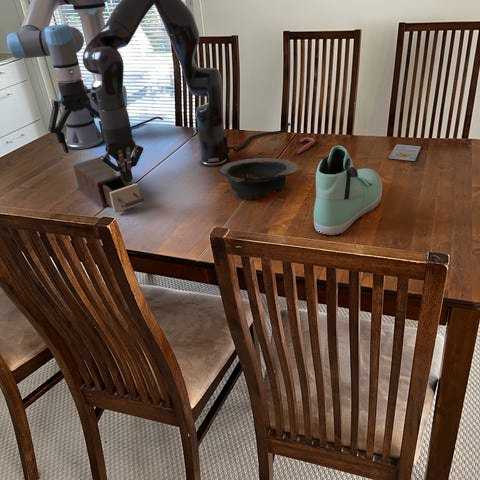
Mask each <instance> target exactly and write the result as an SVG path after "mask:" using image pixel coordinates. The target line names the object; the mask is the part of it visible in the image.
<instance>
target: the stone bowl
mask: <svg viewBox="0 0 480 480" xmlns="http://www.w3.org/2000/svg"><path fill="white" fill-rule="evenodd" d="M298 170H299V169H298V167H297V166H296V164H295V163H293V162H291V161H289V160H287V159H281V158H272V157H271V158H269V157H255V158H243V159H239V160H235V161H232V162H231V161H230V162H228V163H224V164H222V166H221V168H220V169H219V170H217V173H219V174H220V175H221V176H223V177H224V178H226V179H227V180H228V182H229V186H230V188H231V190H232V191H234V192H235V193H236V196H237V198H239V199H241V200H243V199H245V200H251V201H252V200H255V199H257V200H262V199H264V198H266V197H267V196H268V193H269V194H273V193H281V192H282V191H284V190H285V189H284V188H285V185H286V183H287V182H286V181H287V177H289V176H290V175H292V174H294V173H296V172H297V171H298Z"/></svg>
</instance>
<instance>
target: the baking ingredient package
mask: <svg viewBox="0 0 480 480" xmlns="http://www.w3.org/2000/svg"><path fill="white" fill-rule="evenodd" d="M421 148H422V146H419V145H418V146H417V145H409V144H398V143H396V145H395V146H394V148H393V149H392V151H391V153H390V155H389V156H388V159H391V160H392V159H393V160H399V161H410V162H411V161H412V162H415V161H416V160H417V157H418V155H419V152H420V151H421Z"/></svg>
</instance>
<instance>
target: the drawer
mask: <svg viewBox="0 0 480 480" xmlns="http://www.w3.org/2000/svg"><path fill="white" fill-rule="evenodd" d="M100 187H101V191H102V195H103V199H104V201H105V202H106V203H107V204H108V206H109V207H110V208H112V210H113V213H114V214H118V213H120V212H123V211H126V210H128V209H132V208H135V207H137V206H140V205H142V204H143V202H144V201H145V198H144V196H141V192H140V187H139V184H138V183H136V182H135V183H133V182H130V183H125V182H124V181H122V179H121V178H118V179H115V180H112V181H109V182H106V183H103V184H100Z"/></svg>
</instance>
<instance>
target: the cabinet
mask: <svg viewBox="0 0 480 480" xmlns="http://www.w3.org/2000/svg"><path fill="white" fill-rule="evenodd" d="M72 166H73V170H74V174H75V179H76V182H77V186H78V188H79V190H81V192H83V193H85V194H86V195H87V196H88V197H89V198H90V199H92V200H93V201H95V202H96V203H97V204H98V205H99V206H100V207H102V208H106V207H108V206H109V205H108V204H107V203H106V202H105V201H104V199H103V195H102V191H101V187H100V184H103V183H106V182H109V181H112V180H115V179H118V178H121V174H120V171H119V172H117V171H115V170H114V169H112V168H111V167H110V166H108V165H107V164H106V163H104V162H103V161H102V160H100V156H99V157H94V158H92V159H87V160H86V161H82V162H78V163H75V164H73V165H72Z"/></svg>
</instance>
